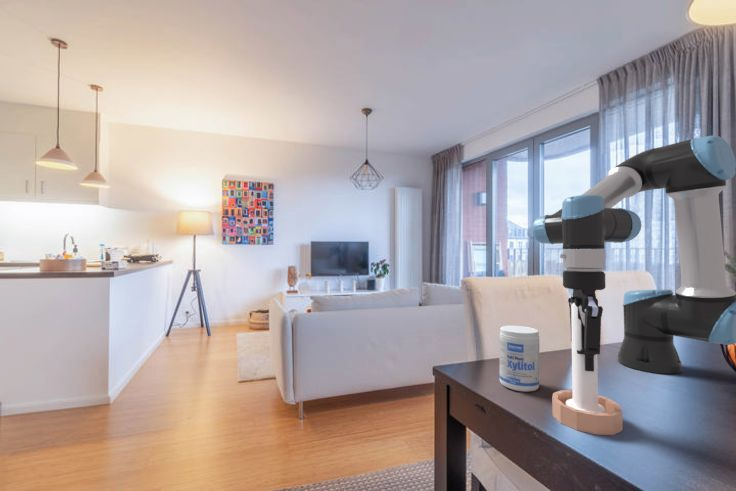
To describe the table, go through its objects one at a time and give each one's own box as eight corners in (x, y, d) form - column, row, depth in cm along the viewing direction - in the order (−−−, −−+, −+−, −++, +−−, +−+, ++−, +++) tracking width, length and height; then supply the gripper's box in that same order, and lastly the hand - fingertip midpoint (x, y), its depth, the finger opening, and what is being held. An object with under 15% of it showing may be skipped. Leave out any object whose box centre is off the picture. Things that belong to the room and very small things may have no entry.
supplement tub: (508, 393, 84) (507, 333, 84) (494, 378, 94) (493, 325, 94) (547, 393, 84) (546, 333, 84) (529, 378, 93) (528, 325, 94)
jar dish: (596, 406, 77) (595, 390, 77) (637, 434, 65) (637, 415, 65) (542, 406, 77) (541, 390, 77) (573, 434, 65) (573, 415, 65)
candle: (612, 419, 67) (610, 291, 67) (571, 415, 68) (569, 291, 68) (598, 403, 73) (596, 287, 73) (561, 400, 75) (559, 286, 75)
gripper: (554, 268, 80) (555, 369, 79) (574, 271, 65) (576, 395, 65) (591, 268, 78) (592, 372, 77) (619, 272, 63) (622, 400, 63)
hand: (585, 383), depth 71 cm, fingers closed on candle, 2 cm apart
